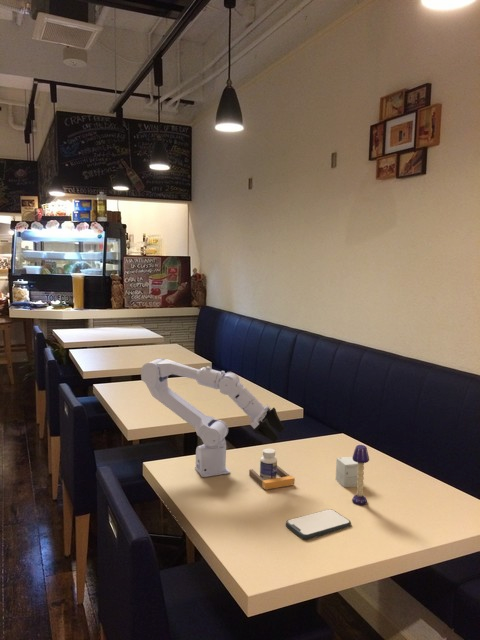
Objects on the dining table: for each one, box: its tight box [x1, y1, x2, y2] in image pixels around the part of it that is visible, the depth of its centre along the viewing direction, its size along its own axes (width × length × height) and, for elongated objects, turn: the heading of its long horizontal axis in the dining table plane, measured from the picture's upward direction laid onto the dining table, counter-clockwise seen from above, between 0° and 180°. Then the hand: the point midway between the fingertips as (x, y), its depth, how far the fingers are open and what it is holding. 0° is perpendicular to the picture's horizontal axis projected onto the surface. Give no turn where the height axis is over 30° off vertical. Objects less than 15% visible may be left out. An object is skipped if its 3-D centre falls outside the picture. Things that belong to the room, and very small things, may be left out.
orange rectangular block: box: [261, 475, 295, 490], centre depth 156 cm, size 10×2×2 cm, turn 114°
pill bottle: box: [259, 448, 278, 480], centre depth 162 cm, size 5×5×9 cm
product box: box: [335, 456, 358, 488], centre depth 160 cm, size 6×6×7 cm
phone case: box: [285, 508, 352, 541], centre depth 134 cm, size 9×2×16 cm
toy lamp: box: [351, 444, 370, 506], centre depth 147 cm, size 5×5×17 cm
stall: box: [248, 465, 291, 488], centre depth 162 cm, size 10×9×2 cm
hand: (279, 435), depth 160 cm, fingers open, 7 cm apart
